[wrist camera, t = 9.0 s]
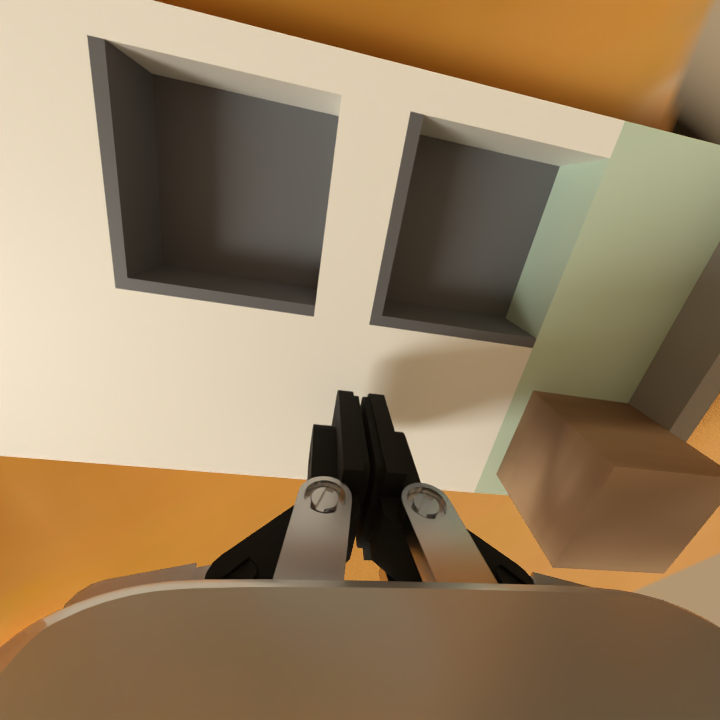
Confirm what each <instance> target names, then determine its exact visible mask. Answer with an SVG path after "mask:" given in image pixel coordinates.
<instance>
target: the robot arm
mask: <svg viewBox="0 0 720 720" xmlns="http://www.w3.org/2000/svg"><path fill="white" fill-rule="evenodd" d="M355 536H356V544H357V547H358V548H363V556H364V560H372V561H374V562H375V563H376V564H377V565H378V566H379V567H380V569H379V577H380V581H347V580H344V574H345V564H346V562H347V561H348V560H349V559H350V556H351V552H352V548H353V544H354V540H355ZM0 720H720V627H718V626H717V625H715V624H714V623H712V622H710V621H708V620H707V619H705V618H703V617H701V616H699V615H697V614H695V613H693V612H691V611H689V610H687V609H684V608H681V607H679V606H676V605H674V604H671V603H669V602H666V601H664V600H660V599H656V598H653V597H649V596H645V595H642V594H637V593H632V592H626V591H621V590H613V589H603V588H593V587H589V586H585V585H581V584H577V583H573V582H570V581H566V580H562V579H558V578H554V577H550V576H546V575H542V574H539V573H535V572H532V574H531V576H529V575H528V574H527V573H526V571H525V570H523V569H522V568H521V567H520V566H519V565H517V564H516V563H515V562H513V561H512V560H510V559H509V558H508V557H506V556H505V555H503V554H502V553H500V552H499V551H498V550H496V549H495V548H493V547H492V546H490V545H489V544H488V543H486V542H485V541H483V540H482V539H480V538H479V537H478V536H476V535H475V534H473V533H472V532H470V531H469V530H468V529H466V527H465V526H464V524H463V522H462V521H461V519H460V517H459V515H458V514H457V512H456V510H455V508H454V507H453V505H452V503H451V502H450V500H449V499H448V497H447V496H446V495H445V494H444V493H443V492H442V491H441V490H439V489H438V488H436V487H434V486H432V485H429V484H426V483H421V481H420V478H419V475H418V472H417V469H416V466H415V463H414V460H413V457H412V454H411V451H410V448H409V445H408V442H407V439H406V436H405V434H404V433H403V432H396V431H395V430H394V427H393V423H392V420H391V416H390V413H389V410H388V406H387V403H386V399H385V396H384V395H381V394H371V393H369V394H368V396H367V397H362V400H361V405H360V401H359V396H354V393H353V392H352V391H343V390H338V391H337V396H336V402H335V408H334V414H333V420H332V426H330V425H319V424H313V429H312V436H311V443H310V451H309V461H308V474H307V481H306V482H305V483H304V484H303V485H302V486H301V488H300V490H299V492H298V495H297V498H296V502H295V505H294V506H292V507H291V508H289V509H288V510H286V511H285V512H283V513H282V514H281V515H279V516H278V517H276V518H275V519H273V520H272V521H270V522H269V523H267V524H266V525H265V526H263V527H262V528H260V529H259V530H257V531H256V532H254V533H253V534H251V535H250V536H249V537H247V538H246V539H244V540H243V541H241V542H240V543H238V544H237V545H235V546H234V547H233V548H231V549H230V550H228V551H227V552H225V553H224V554H222V555H221V556H220V557H219V558H218V559H216V560H215V561H214V562H213V563H212V565H208V566H203V567H198V568H197V567H196V563H193V564H188V565H183V566H177V567H172V568H166V569H161V570H155V571H150V572H145V573H139V574H134V575H128V576H123V577H117V578H112V579H107V580H103V581H100V582H97V583H94V584H91V585H89V586H88V587H86V588H84V589H83V590H81V591H79V592H78V593H77V594H76V595H74V596H73V597H72V598H71V599H70V600H69V601H68V602H67V603H66V604H65V606H64V608H63V609H60V610H58V611H56V612H54V613H52V614H50V615H48V616H46V617H44V618H42V619H40V620H38V621H37V622H35V623H33V624H31V625H30V626H28V627H27V628H25V629H24V630H22V631H21V632H19V633H18V634H16V635H15V636H14V637H13V638H11V639H10V640H9V641H8V642H6V643H5V644H4V645H3V646H2V647H0Z"/></svg>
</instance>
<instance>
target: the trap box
mask: <svg viewBox="0 0 720 720" xmlns="http://www.w3.org/2000/svg"><path fill="white" fill-rule="evenodd" d="M338 390H343V391H352V392H353V393H354V396H359V401H360V405H361V400H362V397H367V396H368V394H369V393H371V394H381V395H384V396H385V399H386V403H387V406H388V410H389V413H390V416H391V420H392V423H393V427H394V430H395V431H396V432H403V433H404V434H405V436H406V439H407V442H408V445H409V448H410V451H411V454H412V457H413V460H414V463H415V466H416V469H417V472H418V475H419V478H420V481H421V483H426V484H429V485H432V486H434V487H436V488H438V489H439V490H448V491H460V492H473V493H486V494H499V495H508V493H507V491H506V490H505V488H504V486H503V485H502V483H501V481H500V480H499V478H498V476H497V475H496V474H497V471H498V469H499V467H500V465H501V462H502V460H503V458H504V456H505V453H506V451H507V449H508V446H509V444H510V442H511V440H512V437H513V435H514V433H515V431H516V428H517V426H518V424H519V422H520V419H521V417H522V415H523V412H524V410H525V408H526V406H527V403H528V401H529V399H530V397H531V394H532V392H533V391H541V392H548V393H556V394H563V395H570V396H578V397H585V398H593V399H600V400H608V401H615V402H622V403H628V404H630V405H631V406H633V407H634V408H636V409H637V410H639V411H640V412H642V413H643V414H645V415H646V416H648V417H649V418H651V419H652V420H653V421H655V422H656V423H658V424H659V425H661V426H662V427H664V428H665V429H667V430H668V431H670V432H671V433H673V434H674V435H676V436H677V437H679V438H680V439H682V440H683V441H685V442H686V441H687V440H688V438H689V437H690V436H691V434H692V433H693V431H694V430H695V428H696V427H697V425H698V424H699V422H700V421H701V419H702V418H703V416H704V415H705V414H706V412H707V411H708V409H709V408H710V406H711V405H712V403H713V402H714V400H715V399H716V397H717V396H718V394H719V393H720V145H717V144H714V143H710V142H706V141H702V140H698V139H694V138H690V137H686V136H682V135H679V134H675V133H671V132H667V131H663V130H659V129H655V128H651V127H647V126H643V125H639V124H636V123H632V122H628V121H624V120H620V119H616V118H612V117H608V116H604V115H600V114H596V113H592V112H589V111H585V110H581V109H577V108H573V107H569V106H565V105H561V104H557V103H553V102H549V101H545V100H541V99H538V98H534V97H530V96H526V95H522V94H518V93H514V92H510V91H506V90H502V89H498V88H494V87H491V86H487V85H483V84H479V83H475V82H471V81H467V80H463V79H459V78H455V77H451V76H447V75H444V74H440V73H436V72H432V71H428V70H424V69H420V68H416V67H412V66H408V65H404V64H400V63H397V62H393V61H389V60H385V59H381V58H377V57H373V56H369V55H365V54H361V53H357V52H353V51H349V50H346V49H342V48H338V47H334V46H330V45H326V44H322V43H318V42H314V41H310V40H306V39H302V38H299V37H295V36H291V35H287V34H283V33H279V32H275V31H271V30H267V29H263V28H259V27H255V26H252V25H248V24H244V23H240V22H236V21H232V20H228V19H224V18H220V17H216V16H212V15H208V14H205V13H201V12H197V11H193V10H189V9H185V8H181V7H177V6H173V5H169V4H165V3H161V2H158V1H154V0H0V456H10V457H22V458H35V459H48V460H61V461H74V462H87V463H100V464H113V465H126V466H138V467H151V468H164V469H177V470H190V471H203V472H216V473H229V474H241V475H254V476H267V477H280V478H293V479H306V480H307V474H308V461H309V451H310V443H311V436H312V429H313V424H319V425H330V426H332V420H333V414H334V408H335V402H336V396H337V391H338Z"/></svg>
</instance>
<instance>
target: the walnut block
mask: <svg viewBox="0 0 720 720" xmlns="http://www.w3.org/2000/svg"><path fill="white" fill-rule="evenodd" d="M496 475H497V476H498V478H499V480H500V481H501V483H502V485H503V486H504V488H505V490H506V491H507V493H508V495H509V496H510V498H511V500H512V501H513V503H514V504H515V506H516V508H517V509H518V511H519V513H520V514H521V516H522V518H523V519H524V521H525V523H526V524H527V526H528V528H529V529H530V531H531V532H532V534H533V536H534V537H535V539H536V541H537V542H538V544H539V546H540V547H541V549H542V551H543V552H544V554H545V556H546V557H547V559H548V560H549V562H550V564H551V565H552V567H553V568H571V569H589V570H608V571H626V572H645V573H663V574H664V573H665V572H666V570H667V569H668V568H669V567H670V566H671V564H672V563H673V562H674V561H675V559H676V558H677V557H678V556H679V554H680V553H681V552H682V551H683V550H684V548H685V547H686V546H687V545H688V543H689V542H690V541H691V540H692V538H693V537H694V536H695V535H696V534H697V532H698V531H699V530H700V529H701V527H702V526H703V525H704V524H705V523H706V521H707V520H708V519H709V518H710V516H711V515H712V514H713V513H714V511H715V510H716V509H717V508H718V507H719V505H720V465H719V464H717V463H716V462H714V461H713V460H711V459H710V458H708V457H707V456H705V455H704V454H702V453H701V452H699V451H698V450H696V449H695V448H693V447H692V446H690V445H689V444H688V443H686V442H685V441H683V440H682V439H680V438H679V437H677V436H676V435H674V434H673V433H671V432H670V431H668V430H667V429H665V428H664V427H662V426H661V425H659V424H658V423H656V422H655V421H653V420H652V419H651V418H649V417H648V416H646V415H645V414H643V413H642V412H640V411H639V410H637V409H636V408H634V407H633V406H631V405H630V404H628V403H622V402H615V401H608V400H600V399H593V398H585V397H578V396H570V395H563V394H556V393H548V392H541V391H533V392H532V394H531V397H530V399H529V401H528V403H527V406H526V408H525V410H524V412H523V415H522V417H521V419H520V422H519V424H518V426H517V428H516V431H515V433H514V435H513V437H512V440H511V442H510V444H509V446H508V449H507V451H506V453H505V456H504V458H503V460H502V462H501V465H500V467H499V469H498V471H497V474H496Z"/></svg>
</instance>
